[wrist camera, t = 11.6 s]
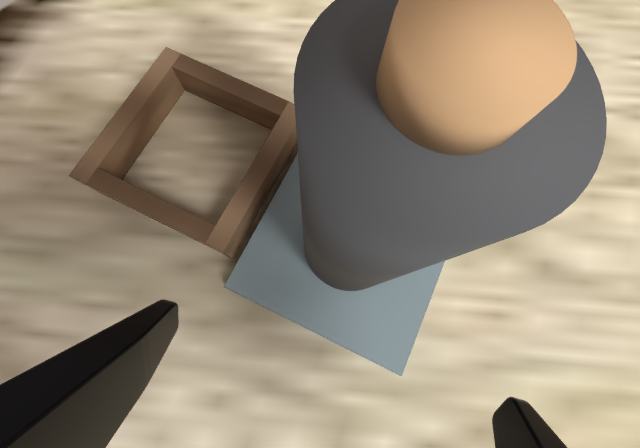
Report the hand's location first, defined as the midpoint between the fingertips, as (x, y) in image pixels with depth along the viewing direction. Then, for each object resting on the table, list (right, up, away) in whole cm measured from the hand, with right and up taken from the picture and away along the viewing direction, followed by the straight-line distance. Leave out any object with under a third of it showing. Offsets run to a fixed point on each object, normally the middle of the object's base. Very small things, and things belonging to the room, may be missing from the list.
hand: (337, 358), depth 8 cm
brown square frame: (-7, +8, +10) cm, 15 cm away
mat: (+1, +2, +9) cm, 10 cm away
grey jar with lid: (+1, +2, +9) cm, 9 cm away
